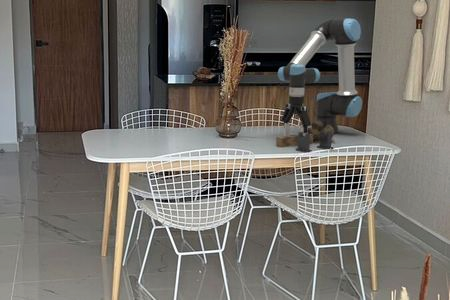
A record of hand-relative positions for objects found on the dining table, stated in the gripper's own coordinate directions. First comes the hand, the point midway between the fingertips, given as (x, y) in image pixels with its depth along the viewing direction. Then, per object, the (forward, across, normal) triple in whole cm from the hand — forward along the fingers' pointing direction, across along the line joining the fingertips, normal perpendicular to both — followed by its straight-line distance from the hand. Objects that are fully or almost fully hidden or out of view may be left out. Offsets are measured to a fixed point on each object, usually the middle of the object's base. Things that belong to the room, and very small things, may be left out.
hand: (295, 137), depth 303 cm
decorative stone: (+4, -1, +19) cm, 19 cm away
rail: (+4, 0, 0) cm, 4 cm away
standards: (+4, +15, 0) cm, 15 cm away
